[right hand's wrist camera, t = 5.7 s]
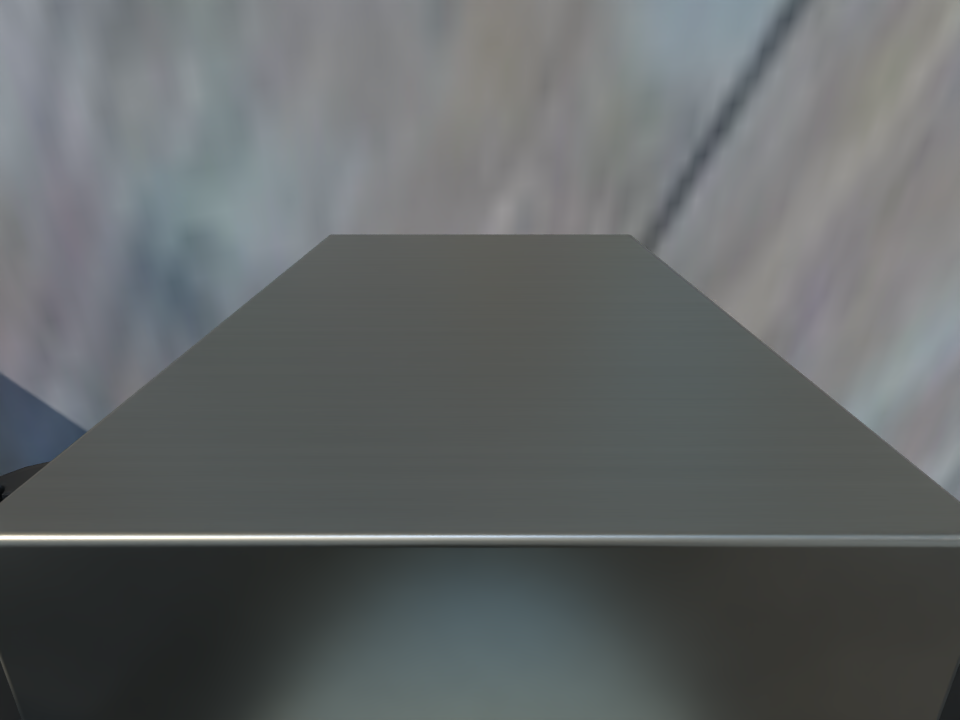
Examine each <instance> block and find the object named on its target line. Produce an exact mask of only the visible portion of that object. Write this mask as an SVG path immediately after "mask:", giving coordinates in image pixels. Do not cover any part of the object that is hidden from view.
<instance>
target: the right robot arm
mask: <svg viewBox="0 0 960 720" xmlns="http://www.w3.org/2000/svg"><path fill="white" fill-rule="evenodd" d="M50 462H51V461H50ZM50 462H46V463H41V464H37V465H32V466H28V467H24V468H21V469H19V470H16V471H13V472H11V473H8V474H5V475H3V476H0V502H1V501H3V500H4V499H5V498H6V497H8V496H9V495H10V494H11V493H13V492H14V491H15V490H16V489H17V488H19V487H20V486H21V485H22V484H24V483H25V482H26V481H27V480H29V479H30V478H31V477H32V476H34V475H35V474H36V473H37V472H38V471H40V470H41V469H42V468H43V467H45V466H46V465H47V464H48V463H50ZM0 720H22V718H21V716H20V713H19V710H18V708H17V705H16V702H15V699H14V697H13V694H12V691H11V688H10V686H9V683H8V680H7V678H6V675H5V672H4V669H3V667H2V664H1V661H0ZM939 720H960V664H959V667H958V669H957V672H956V675H955V678H954V680H953V683H952V686H951V688H950V691H949V694H948V697H947V699H946V702H945V705H944V707H943V710H942V713H941V716H940V718H939Z"/></svg>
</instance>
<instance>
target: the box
mask: <svg viewBox="0 0 960 720" xmlns="http://www.w3.org/2000/svg"><path fill="white" fill-rule="evenodd" d="M0 661H1V664H2V667H3V669H4V672H5V675H6V678H7V680H8V683H9V686H10V688H11V691H12V694H13V697H14V699H15V702H16V705H17V708H18V710H19V713H20V716H21V718H22V720H939V718H940V716H941V713H942V710H943V707H944V705H945V702H946V699H947V697H948V694H949V691H950V688H951V686H952V683H953V680H954V678H955V675H956V672H957V669H958V667H959V664H960V502H959V501H958V500H957V499H956V498H955V497H953V496H952V495H951V494H950V493H948V492H947V491H946V490H945V489H943V488H942V487H941V486H940V485H938V484H937V483H936V482H935V481H934V480H932V479H931V478H930V477H929V476H927V475H926V474H925V473H924V472H922V471H921V470H920V469H919V468H917V467H916V466H915V465H914V464H913V463H911V462H910V461H909V460H908V459H906V458H905V457H904V456H903V455H901V454H900V453H899V452H898V451H896V450H895V449H894V448H893V447H892V446H890V445H889V444H888V443H887V442H885V441H884V440H883V439H882V438H880V437H879V436H878V435H877V434H876V433H874V432H873V431H872V430H871V429H869V428H868V427H867V426H866V425H864V424H863V423H862V422H861V421H859V420H858V419H857V418H856V417H855V416H853V415H852V414H851V413H850V412H848V411H847V410H846V409H845V408H843V407H842V406H841V405H840V404H838V403H837V402H836V401H835V400H834V399H832V398H831V397H830V396H829V395H827V394H826V393H825V392H824V391H822V390H821V389H820V388H819V387H818V386H816V385H815V384H814V383H813V382H811V381H810V380H809V379H808V378H806V377H805V376H804V375H803V374H801V373H800V372H799V371H798V370H797V369H795V368H794V367H793V366H792V365H790V364H789V363H788V362H787V361H785V360H784V359H783V358H782V357H780V356H779V355H778V354H777V353H776V352H774V351H773V350H772V349H771V348H769V347H768V346H767V345H766V344H764V343H763V342H762V341H761V340H760V339H758V338H757V337H756V336H755V335H753V334H752V333H751V332H750V331H748V330H747V329H746V328H745V327H743V326H742V325H741V324H740V323H739V322H737V321H736V320H735V319H734V318H732V317H731V316H730V315H729V314H727V313H726V312H725V311H724V310H722V309H721V308H720V307H719V306H718V305H716V304H715V303H714V302H713V301H711V300H710V299H709V298H708V297H706V296H705V295H704V294H703V293H702V292H700V291H699V290H698V289H697V288H695V287H694V286H693V285H692V284H690V283H689V282H688V281H687V280H685V279H684V278H683V277H682V276H681V275H679V274H678V273H677V272H676V271H674V270H673V269H672V268H671V267H669V266H668V265H667V264H666V263H664V262H663V261H662V260H661V259H660V258H658V257H657V256H656V255H655V254H653V253H652V252H651V251H650V250H648V249H647V248H646V247H645V246H643V245H642V244H641V243H640V242H639V241H637V240H636V239H635V238H634V237H632V236H631V235H329V236H328V237H327V238H326V239H324V240H323V241H322V242H321V243H319V244H318V245H317V246H316V247H314V248H313V249H312V250H311V251H309V252H308V253H307V254H306V255H305V256H303V257H302V258H301V259H300V260H298V261H297V262H296V263H295V264H293V265H292V266H291V267H290V268H289V269H287V270H286V271H285V272H284V273H282V274H281V275H280V276H279V277H277V278H276V279H275V280H274V281H273V282H271V283H270V284H269V285H268V286H266V287H265V288H264V289H263V290H261V291H260V292H259V293H258V294H257V295H255V296H254V297H253V298H252V299H250V300H249V301H248V302H247V303H245V304H244V305H243V306H242V307H240V308H239V309H238V310H237V311H236V312H234V313H233V314H232V315H231V316H229V317H228V318H227V319H226V320H224V321H223V322H222V323H221V324H220V325H218V326H217V327H216V328H215V329H213V330H212V331H211V332H210V333H208V334H207V335H206V336H205V337H204V338H202V339H201V340H200V341H199V342H197V343H196V344H195V345H194V346H192V347H191V348H190V349H189V350H188V351H186V352H185V353H184V354H183V355H181V356H180V357H179V358H178V359H176V360H175V361H174V362H173V363H171V364H170V365H169V366H168V367H167V368H165V369H164V370H163V371H162V372H160V373H159V374H158V375H157V376H155V377H154V378H153V379H152V380H151V381H149V382H148V383H147V384H146V385H144V386H143V387H142V388H141V389H139V390H138V391H137V392H136V393H135V394H133V395H132V396H131V397H130V398H128V399H127V400H126V401H125V402H123V403H122V404H121V405H120V406H119V407H117V408H116V409H115V410H114V411H112V412H111V413H110V414H109V415H107V416H106V417H105V418H104V419H103V420H101V421H100V422H99V423H98V424H96V425H95V426H94V427H93V428H91V429H90V430H89V431H88V432H86V433H85V434H84V435H83V436H82V437H80V438H79V439H78V440H77V441H75V442H74V443H73V444H72V445H70V446H69V447H68V448H67V449H66V450H64V451H63V452H62V453H61V454H59V455H58V456H57V457H56V458H54V459H53V460H52V461H51V462H50V463H48V464H47V465H46V466H45V467H43V468H42V469H41V470H40V471H38V472H37V473H36V474H35V475H34V476H32V477H31V478H30V479H29V480H27V481H26V482H25V483H24V484H22V485H21V486H20V487H19V488H17V489H16V490H15V491H14V492H13V493H11V494H10V495H9V496H8V497H6V498H5V499H4V500H3V501H1V502H0Z"/></svg>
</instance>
